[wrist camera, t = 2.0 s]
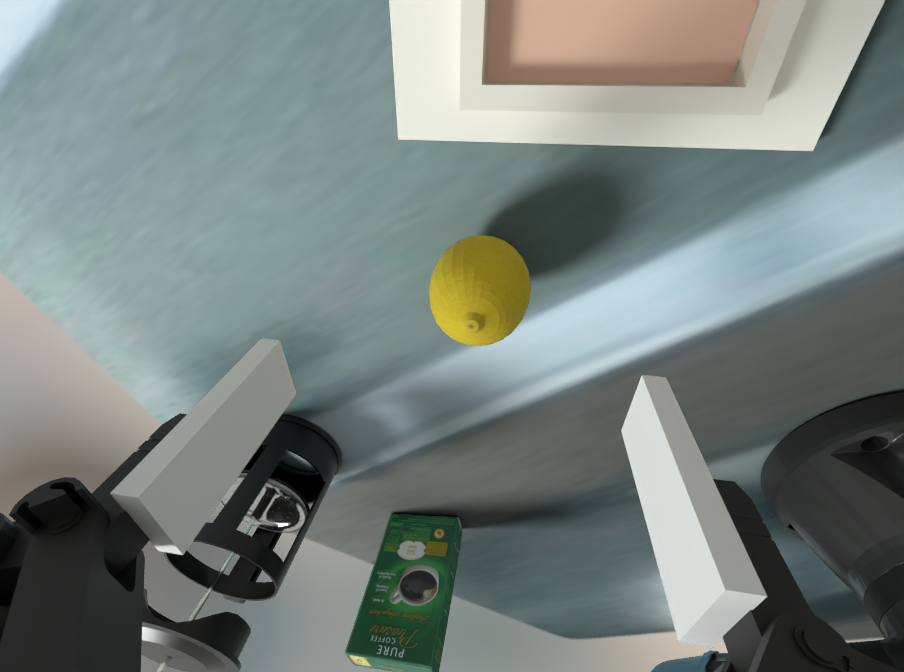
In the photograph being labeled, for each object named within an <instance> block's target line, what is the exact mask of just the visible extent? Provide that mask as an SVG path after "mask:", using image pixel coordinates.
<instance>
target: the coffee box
mask: <svg viewBox="0 0 904 672" xmlns="http://www.w3.org/2000/svg"><path fill="white" fill-rule="evenodd" d="M461 536H462V526H461V523H460V520H459V518H458V517H447V516H425V515H410V514H391V515H390V518H389V521H388V524H387V527H386V530H385V533H384V537H383V540H382V543H381V546H380V549H379V552H378V555H377V558H376V561H375V564H374V567H373V570H372V572H371V576H370V578H369V581H368V584H367V587H366V590H365V594H364V596H363V599H362V603H361V605H360V609H359V611H358V614H357V617H356V620H355V623H354V626H353V629H352V632H351V635H350V638H349V641H348V645H347V647H346V651H345V654H346V655H347V657H348V658H349V659H350V660H351V662H352V663H353V664H354V665H357V666H364V667H370V668H375V669H381V670H387V671H393V672H439V667H440V662H441V656H442V651H443V645H444V640H445V634H446V628H447V622H448V616H449V610H450V604H451V598H452V592H453V586H454V580H455V575H456V569H457V561H458V556H459V550H460V543H461Z"/></svg>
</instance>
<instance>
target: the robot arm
mask: <svg viewBox="0 0 904 672" xmlns="http://www.w3.org/2000/svg"><path fill="white" fill-rule="evenodd" d="M295 395H296V391H295V388H294V385H293V381H292V378H291V375H290V372H289V368H288V365H287V362H286V359H285V355H284V352H283V349H282V345H281V342H280V340H272V339H260V340H259V341H258V342H257V343H256V344H255V345H254V346H253V347H252V348H251V349H250V351H249V352H248V353H247V354H246V355H245V356H244V357H243V358H242V359H241V360H240V361H239V362H238V363H237V364H236V365H235V366H234V367H233V368H232V369H231V370H230V371H229V372H228V373H227V374H226V375H225V376H224V377H223V378H222V379H221V380H220V381H219V382H218V383H217V384H216V385H215V386H214V387H213V388H212V389H211V390H210V391H209V392H208V393H207V394H206V396H205V397H204V398H203V399H202V400H201V401H200V402H199V403H198V404H197V405H196V406H195V407H194V408H193V409H192V410H191V411H190V412H189V413H188V414H178V415H177V416H175V417H174V418H172V419H170V420H169V421H167V422H166V423H164V424H162V425H161V426H160V427H159V428H158V429H157V430H156V431H155V432H154V433H153V434H152V435H151V436H150V437H149V440H148V441H145V442H144V443H143V444H142V445H141V446H140V447H139V448H138V451H137V452H134V453H133V454H132V455H131V456H130V457H129V458H128V459H127V460H126V461H125V462H124V463H123V464H122V465H121V466H120V467H119V468H118V469H117V470H116V471H115V472H114V473H113V474H111V475H110V476H109V477H108V478H107V479H106V480H105V482H103V483H102V484H101V485H100V486H99V487H98V488H97V489H96V490H95V491H94V492H93V493H92V494H91V493H90V492H89V491H88V489H86V487H85V486H84V485H83V484H82V483H81V482H80V481H79V480H77V479H76V478H66V477H65V478H60V479H56V480H52V481H50V482H48V483H45V484H43V485H41V486H39V487H37V488H36V489H34V490H33V491H31V492H30V493H28V494H26V495H25V496H24V497H23V498H22V499H21V500H20V501H19V502H18V503H17V504H16V505H15V506H14V507H13V509H12V511H11V512H10V514H9V515H10V516H11V517H12V518H13V519H14V520H15V522H12V521H10V520H9V519H8V518H7V517H6V516H4V515H3V514H1V513H0V672H140V671H141V645H142V619H143V592H144V564H145V557H144V554H143V551H142V549H143V547H144V546H145V545H146V544H147V542H148V541H149V540H150V541H151V543H152V544H153V545H154V546H155V547H156V548H157V550H158V551H162V552H168V553H173V554H179V555H183V554H184V553H185V552H186V550H187V549H188V547H189V546H190V544H191V543H192V542H193V540H194V539H195V537H196V536H197V535H198V533H199V532H200V530H201V529H202V527H203V526H204V525H205V523H206V522H207V520H208V519H209V517H210V516H211V514H212V513H213V512H214V510H215V509H216V507H217V506H218V505H219V503H220V502H221V500H222V499H223V497H224V496H225V495H226V493H227V492H228V490H229V489H230V488H231V486H232V485H233V483H234V482H235V480H236V479H237V478H238V476H239V475H240V473H241V472H242V470H243V469H244V468H245V466H246V465H247V463H248V462H249V460H250V459H251V458H252V456H253V455H254V453H255V452H256V450H257V449H258V448H259V446H260V445H261V443H262V442H263V441H264V439H265V438H266V436H267V435H268V433H269V432H270V431H271V429H272V428H273V426H274V425H275V423H276V422H277V421H278V419H279V418H280V416H281V415H282V413H283V412H284V411H285V409H286V408H287V406H288V405H289V403H290V402H291V401H292V399H293V398H294V396H295ZM621 431H622V435H623V439H624V442H625V446H626V450H627V453H628V457H629V461H630V465H631V468H632V472H633V476H634V479H635V483H636V487H637V490H638V494H639V498H640V501H641V505H642V509H643V512H644V516H645V520H646V523H647V527H648V531H649V534H650V538H651V542H652V546H653V549H654V553H655V557H656V560H657V564H658V568H659V571H660V575H661V579H662V582H663V586H664V590H665V593H666V597H667V601H668V604H669V608H670V612H671V616H672V619H673V623H674V627H675V630H676V634H677V638H678V641H679V642H683V643H689V644H694V645H700V646H706V647H712V648H713V647H714V646H715V645H716V644H717V643H718V642H720V641H721V640H722V639H724V642H725V645H726V648H727V650H728V653H719V652H718V651H711V650H710V651H708V652H707V653H704V654H703V656H696V657H689V658H682V659H675V660H669V661H665V662H662V663H660V664H659V665H657V666H656V667H655V668H654V669H653V670H652V671H651V672H904V392H902V393H895V394H889V395H884V396H878V397H874V398H870V399H866V400H862V401H859V402H855V403H852V404H849V405H846V406H843V407H840V408H838V409H835V410H833V411H830V412H828V413H825V414H823V415H821V416H819V417H817V418H815V419H813V420H811V421H809V422H808V423H806V424H804V425H802V426H801V427H799V428H798V429H796V430H795V431H793V432H792V433H791V434H789V435H788V436H787V437H786V438H784V439H783V440H782V441H781V442H780V443H779V444H778V445H777V446H776V447H775V448H774V449H773V451H772V452H771V453H770V454H769V456H768V458H767V459H766V461H765V463H764V465H763V468H762V472H761V486H762V489H763V492H764V494H765V496H766V497H767V499H768V501H769V503H770V504H771V506H772V508H773V510H774V511H775V513H776V515H777V516H778V518H779V519H780V520H781V522H782V523H783V524H784V525H785V526H786V527H787V528H788V529H789V530H790V531H791V532H792V533H793V534H794V535H796V536H797V537H798V538H800V539H801V540H803V541H805V542H806V543H807V544H808V545H809V546H810V548H811V549H812V550H813V551H814V552H815V553H816V555H817V556H818V557H819V558H820V559H821V560H822V561H823V562H824V563H825V564H826V565H827V566H828V567H829V568H830V569H831V570H832V571H833V572H834V573H835V574H836V575H837V576H838V577H839V578H840V579H841V580H842V581H843V582H844V583H845V584H846V585H847V586H848V587H849V588H850V589H851V590H852V591H853V592H854V593H855V594H856V595H857V596H858V598H859V599H860V601H861V602H862V604H863V605H864V607H865V608H866V610H867V611H868V613H869V614H870V616H871V617H872V619H873V620H874V622H875V624H876V625H877V627H878V628H879V630H880V631H881V633H882V635H883V637H884V638H885V639H883V640H876V641H865V642H854V643H852V642H851V643H846V642H845V640H844V639H843V638H842V636H841V635H840V634H839V633H838V632H836V631H835V630H834V629H833V628H832V627H831V626H829V625H828V624H827V623H826V622H825V621H823V620H821V619H820V618H818V617H816V616H815V615H814V613H813V612H812V610H811V609H810V607H809V606H808V604H807V602H806V601H805V599H804V597H803V595H802V593H801V591H800V589H799V587H798V586H797V584H796V582H795V580H794V578H793V576H792V574H791V572H790V570H789V569H788V567H787V565H786V563H785V561H784V559H783V557H782V555H781V554H780V552H779V550H778V548H777V546H776V544H775V542H774V541H772V540H771V535H770V533H769V531H768V529H767V527H766V525H765V524H763V522H762V518H761V516H760V514H759V512H758V510H757V508H756V507H755V505H754V503H753V501H752V500H751V498H750V497H749V496H748V495H747V494H746V493H745V492H744V491H743V490H742V489H741V488H740V487H739V486H738V485H737V484H736V483H735V482H732V481H724V480H716V479H713V478H712V476H711V474H710V472H709V470H708V467H707V465H706V463H705V461H704V459H703V457H702V454H701V452H700V450H699V448H698V446H697V444H696V442H695V439H694V437H693V435H692V433H691V431H690V429H689V426H688V424H687V422H686V420H685V418H684V416H683V413H682V411H681V409H680V407H679V405H678V403H677V401H676V398H675V396H674V394H673V392H672V390H671V388H670V385H669V383H668V381H667V379H666V377H657V376H646V375H642V376H641V379H640V382H639V384H638V387H637V390H636V392H635V395H634V398H633V400H632V403H631V406H630V409H629V411H628V414H627V417H626V419H625V422H624V425H623V428H622V430H621Z"/></svg>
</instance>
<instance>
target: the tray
mask: <svg viewBox="0 0 904 672" xmlns="http://www.w3.org/2000/svg"><path fill="white" fill-rule="evenodd" d="M884 1H885V0H389V4H390V19H391V34H392V50H393V65H394V81H395V96H396V111H397V127H398V139H405V140H441V141H476V142H511V143H546V144H582V145H617V146H652V147H687V148H722V149H758V150H793V151H813V149H814V147H815V145H816V143H817V141H818V139H819V137H820V135H821V133H822V131H823V128H824V126H825V124H826V122H827V120H828V118H829V116H830V114H831V112H832V110H833V108H834V106H835V103H836V101H837V99H838V97H839V95H840V93H841V91H842V89H843V87H844V85H845V83H846V81H847V78H848V76H849V74H850V72H851V70H852V68H853V66H854V64H855V62H856V60H857V58H858V56H859V53H860V51H861V49H862V47H863V45H864V43H865V41H866V39H867V37H868V35H869V33H870V31H871V28H872V26H873V24H874V22H875V20H876V18H877V16H878V14H879V12H880V10H881V8H882V6H883V3H884Z"/></svg>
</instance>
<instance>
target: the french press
mask: <svg viewBox="0 0 904 672" xmlns="http://www.w3.org/2000/svg"><path fill="white" fill-rule="evenodd" d="M265 445H267V447H265ZM287 450H288V451H290V452H293V453H295V454H297V455H298V456H300V457H302V458H303V459H305V460H306V461H307V462H309V463H310V464H311V465H312V466H313V467H314V468H315V469H316V470H317V471H318V472H310V473H309V472H301V471H297V470H294V469H291V468H289V467H287V466H285V465H283V464H281V463H280V461H281V459H282V458H283V456H284V455H285V453H286V452H287ZM341 464H342V454H341V451H340V449H339V447H338V445H337V444H336V442H335V441H334V440H333V439H332V438H331V436H330V435H328V434H327V433H326V432H325V431H324V430H322V429H321V428H319V427H318V426H316V425H314V424H312V423H310V422H308V421H306V420H303V419H300V418H297V417H293V416H288V415H281V416H280V418H279V419H278V421H277V422H276V423H275V425H274V426H273V428H272V429H271V431H270V432H269V433H268V435H267V436H266V438H265V439H264V441H263V442H262V443H261V445H260V446H259V448H258V449H257V450H256V452H255V453H254V455H253V456H252V458H251V459H250V460H249V462H248V463H247V465H246V466H245V468H244V469H243V470H242V472H241V473H240V475H239V476H238V478H237V479H236V480H235V482H234V483H233V485H232V486H231V488H230V489H229V490H228V492H227V493H226V495H225V496H224V497H223V499H222V500H221V502H222V503H223V505H224V508H223V509H222V510H221V512H220V513H219V515H218V516H217V518H216V519H215V520H214V522H213V523H205V525H204V526H203V527H202V529H201V530H200V532H199V533H198V535H197V536H196V537H195V539H194V540H193V541H195V542H202V543H206V544H210V545H214V546H217V547H220V548H223V549H226V550H228V551H231V553H230V555H229V556H228V558H227V560H226V561H225V563H224V564H223V566H222V567H221V569H220V571H219V572H218V571H216V570H214V569H212V568H210V567H208V566H207V565H205V564H203V563H202V562H200V561H199V560H197V559H196V558H194V557H193V556H192V555H191V554H190V553H189V552H188V551H187V550H186V552H185V553H184V554H183V555H179V554H173V553H168V552H164V555H165V558H166V559H167V561H168V562H169V563H170V564H171V565H172V566H173V568H175V569H176V570H177V571H178V572H179V573H181V574H182V575H184V576H185V577H187V578H188V579H190V580H191V581H193V582H195V583H197V584H199V585H201V586H203V587H205V588H207V589H208V590H207V591H206V593H205V595H204V596H203V598H202V600H201V601H200V603H199V604H198V606H197V607H196V609H195V611H194V612H193V614H192V615H191V617H190V619H189V620H188V621H186V622H178V623H176V622H174V621H172V620H170V619H168V618H166V617H165V616H163V615H161V614H160V613H158V612H156V611H155V610H154V609H152V608H151V607H150V606H149V605H148V601H147V590H146V589H144V592H143V619H142V645H141V654H142V655H143V656H146V657H147V658H149V659H151V660H154V661H156V662H158V663H161V665H160V667H159V669H158V670H157V672H163V670H164V669H165V667H166V666H169V667H172V668H175V669H179V670H183V671H187V672H239V670H240V668H241V663H240V662H239V660H238V657H239V655H240V653H241V651H242V649H243V647H244V645H245V643H246V641H247V639H248V637H249V635H250V633H251V630H250V627H249V625H248V624H247V623H246V622H245V621H244V620H243V619H242V618H241V617H240V616H239V615H237V614H234V613H230V612H224V613H220V614H215V615H211V616H208V617H204V618H201V619H197V620H195V618H196V617H197V615H198V614H199V612H200V610H201V609H202V607H203V605H204V604H205V602H206V601H207V599H208V597H209V595H210V594H211V592H212V591H215V592H217V593H220V594H222V595H223V598H225V599H227V600H230V601H234V602H238V603H244V602H245V601H246V600H252V601H262V600H267V599H271V598H272V597H274V596H275V595H276V594H277V592H278V590H279V588H280V586H281V584H282V582H283V580H284V578H285V576H286V574H287V572H288V569H289V567H290V565H291V563H292V561H293V559H294V557H295V555H296V553H297V551H298V549H299V547H300V545H301V543H302V541H303V539H304V537H305V534H306V532H307V530H308V528H309V526H310V524H311V522H312V520H313V518H314V516H315V514H316V512H317V510H318V508H319V506H320V504H321V502H322V499H323V497H324V495H325V493H326V491H327V489H328V487H329V485H330V483H331V481H332V479H333V477H334V475H336V474H337V473H338V471H339V469H340V467H341ZM311 503H313V505H312V507H311V509H310V508H309V506H308V504H311ZM242 520H244V521H246V522H248V523H249V524H248V526H247V527H246V529H245V531H244V532H243V533H242V532H240V531H238V530H236V529H237V528H238V526H239V525H240V523H241V521H242ZM253 525H254V526H257V527H258V528H257V529H256V531H255V533H254V534H253V536H252V537H251V536H249V535H247V534H248V532H249V530H250V529H251V527H252V526H253ZM299 530H300V531H299ZM296 531H299V533H298V535H297V537H296V539H295V541H294V543H293V545H292V547H291V549H290V551H289V553H288V555H287V557H286V559H285V561H284V563H283V561H282V560H281V558H280V557H279V556H278V555H277V554H276V553H275V552H274V551H273V548H274V547H275V545H276V543H277V541H278V540H279V538H280V536H281V534H282V533H290V532H296ZM235 553H236V554H238V555H240V558H239V560H238V561H237V563H236V565H235V566H234V568H233V569H232V571H231V573H230V574H229V576H228V575H225V574H223V573H224V571H225V569H226V568H227V566H228V565H229V563H230V561H231V560H232V558H233V557H234V555H235ZM262 570H263V571H264V572H265V573H266V574H267V575H268V576H269V577H270V578H271V579H272V581H273V582H266V583H262V582H256V580H257V579H258V577H259V575H260V573H261V571H262Z"/></svg>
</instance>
